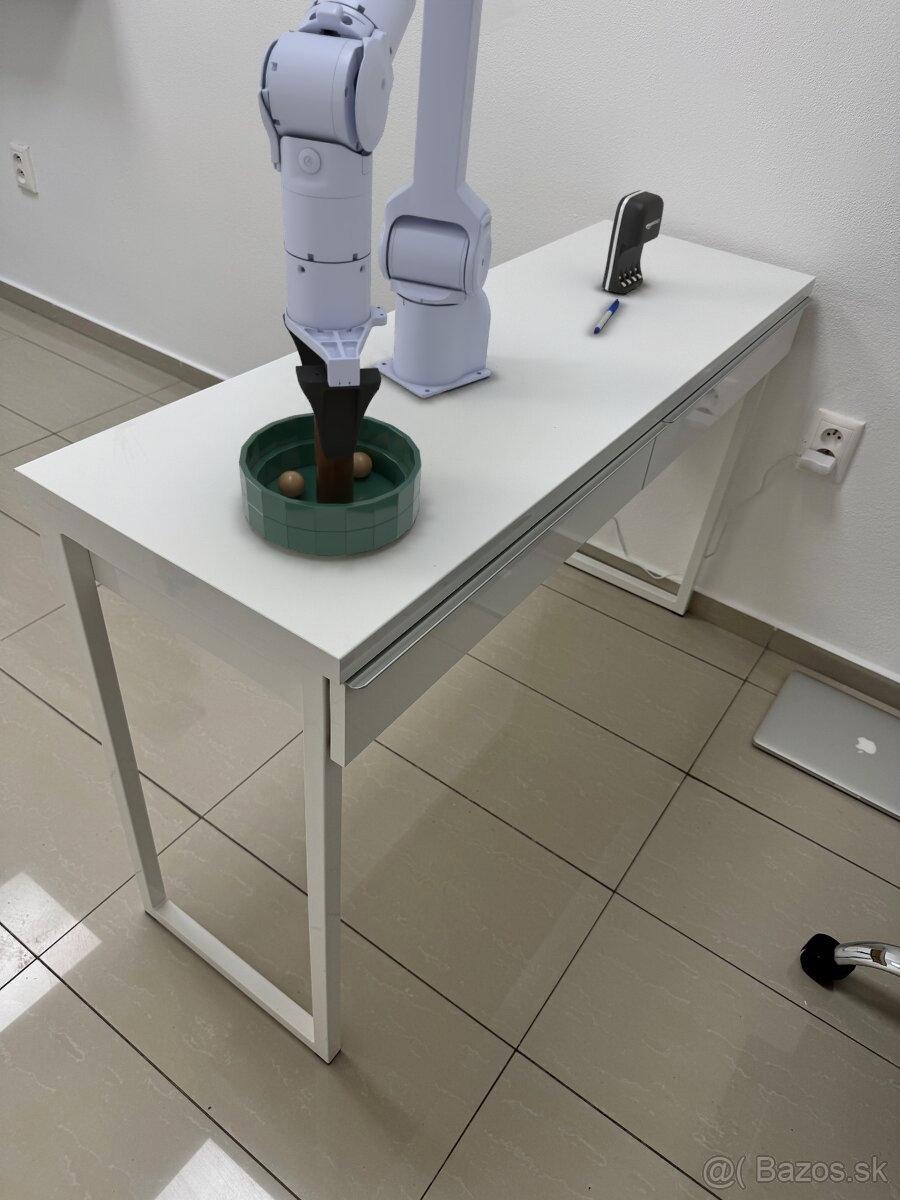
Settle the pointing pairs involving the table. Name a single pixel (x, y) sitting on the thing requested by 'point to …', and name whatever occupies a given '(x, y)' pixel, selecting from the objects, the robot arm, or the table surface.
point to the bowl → (300, 521)
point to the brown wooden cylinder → (333, 477)
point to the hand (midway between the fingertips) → (331, 429)
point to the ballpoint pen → (607, 316)
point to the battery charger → (631, 239)
